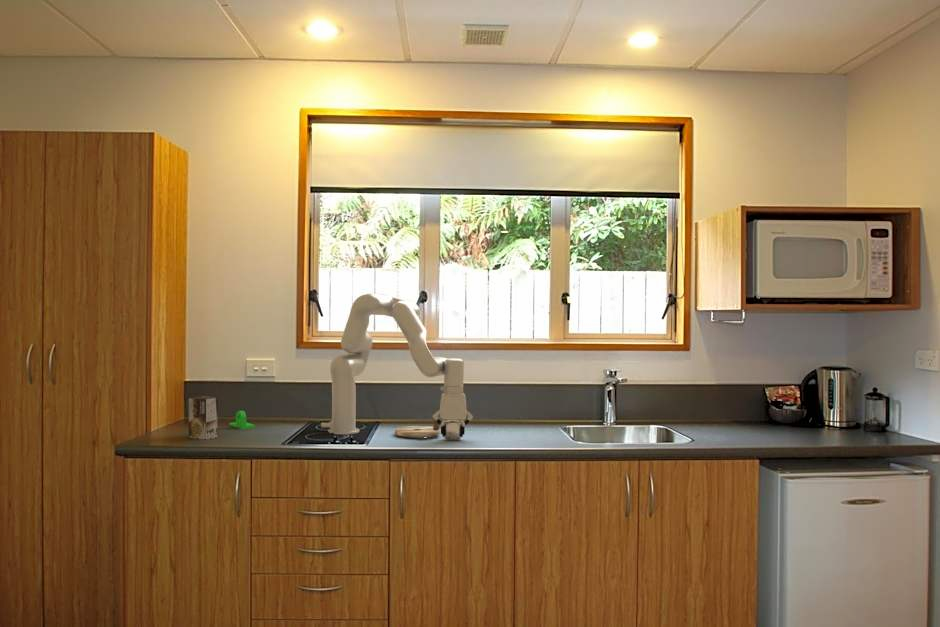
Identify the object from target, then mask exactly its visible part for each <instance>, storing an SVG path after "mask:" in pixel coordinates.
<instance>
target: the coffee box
mask: <svg viewBox="0 0 940 627" xmlns="http://www.w3.org/2000/svg"><path fill="white" fill-rule="evenodd" d="M218 401H219V396H218V397H217V396H206V395H205V396H204V395H203V396H202V395H201V396H200V395H199V396H194V397H188V438H189V437H190V438H189V439H196V438H199V439H198V440H204V439H207V440H211V439H210V438H212V439H216V438H215V437H217V438H218V437H219V436H218V435H219V434H218V430H219V429H218V428H219V427H218V426H219V425H218V423H219V414H218V413H219V402H218Z"/></svg>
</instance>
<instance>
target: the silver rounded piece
mask: <svg viewBox="0 0 940 627" xmlns="http://www.w3.org/2000/svg"><path fill="white" fill-rule="evenodd" d="M444 426H445V437H443V439H444V440H448V441H458V440H461V439H462V437H461V421H460V420H446V421H445V423H444Z"/></svg>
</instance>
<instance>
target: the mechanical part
mask: <svg viewBox="0 0 940 627" xmlns="http://www.w3.org/2000/svg"><path fill="white" fill-rule="evenodd" d="M246 414H247V413H246V412H245V411H244V410H238V411H237V412H236V413H235V421H234V422H228V423H229V424H228V426H230V427H234V428H237V429H240V430H244V429H253V428H254V429H255V428H256V424H254V423H249V422H247V415H246Z"/></svg>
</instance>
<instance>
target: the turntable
mask: <svg viewBox="0 0 940 627" xmlns="http://www.w3.org/2000/svg"><path fill="white" fill-rule="evenodd" d="M437 417H438V419H439V420H440V421H441V418H440V416H437ZM432 418H433V417H432ZM432 424H433V425H432V426H427V425H426V426H425V425H411V426H410V425H409V426H408V425H407V426H401V427H395V429H394V434H395V435H396V436H400V437H404V436H405V437H404V438H409V437H429V436H432V437H435V436H438V435H441V428H440V425H439V424H438V423H437V421H436V420H435V419H434V418H433V422H432Z"/></svg>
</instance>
